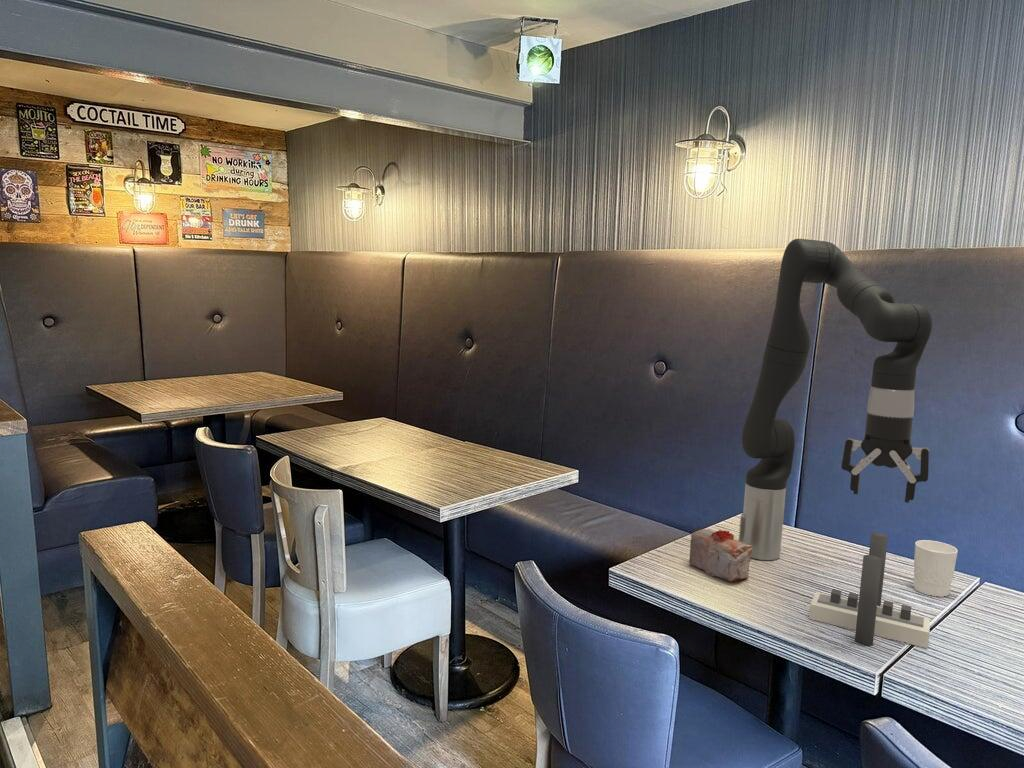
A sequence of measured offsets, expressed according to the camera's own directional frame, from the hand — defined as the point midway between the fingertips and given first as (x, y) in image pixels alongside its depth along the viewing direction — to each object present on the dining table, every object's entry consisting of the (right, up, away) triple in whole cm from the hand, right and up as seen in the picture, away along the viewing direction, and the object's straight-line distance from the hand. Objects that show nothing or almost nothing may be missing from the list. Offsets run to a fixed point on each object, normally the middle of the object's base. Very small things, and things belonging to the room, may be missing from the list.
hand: (881, 497), depth 133 cm
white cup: (+22, -24, +21) cm, 39 cm away
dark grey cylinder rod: (+3, -24, +10) cm, 26 cm away
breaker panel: (-1, -25, +3) cm, 25 cm away
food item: (-23, -22, +27) cm, 41 cm away
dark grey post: (-5, -26, -3) cm, 26 cm away
